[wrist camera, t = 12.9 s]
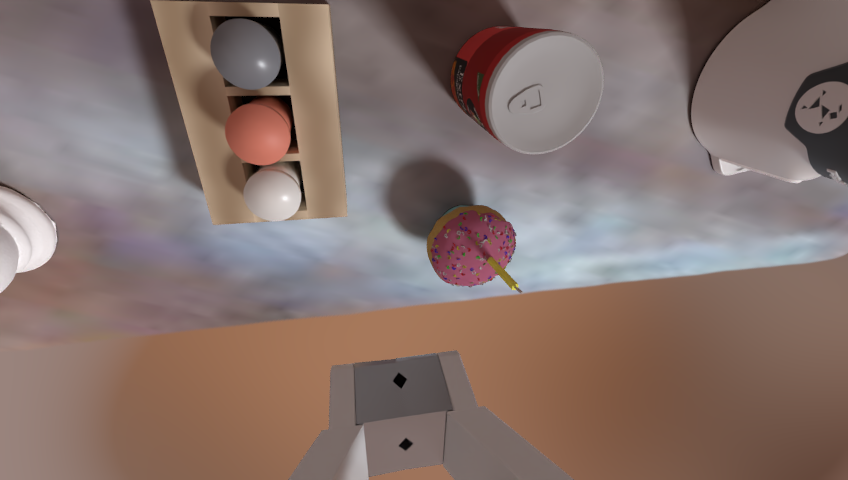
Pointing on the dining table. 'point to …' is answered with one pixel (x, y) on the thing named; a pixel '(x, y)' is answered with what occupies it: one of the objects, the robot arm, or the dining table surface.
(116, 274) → the dining table surface
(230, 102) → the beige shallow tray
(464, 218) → the cupcake
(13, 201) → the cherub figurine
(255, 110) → the red plug
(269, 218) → the white rounded piece
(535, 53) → the canned food
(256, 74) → the graphite plug
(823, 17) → the robot arm
